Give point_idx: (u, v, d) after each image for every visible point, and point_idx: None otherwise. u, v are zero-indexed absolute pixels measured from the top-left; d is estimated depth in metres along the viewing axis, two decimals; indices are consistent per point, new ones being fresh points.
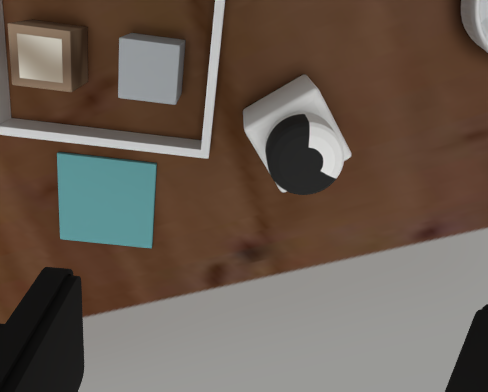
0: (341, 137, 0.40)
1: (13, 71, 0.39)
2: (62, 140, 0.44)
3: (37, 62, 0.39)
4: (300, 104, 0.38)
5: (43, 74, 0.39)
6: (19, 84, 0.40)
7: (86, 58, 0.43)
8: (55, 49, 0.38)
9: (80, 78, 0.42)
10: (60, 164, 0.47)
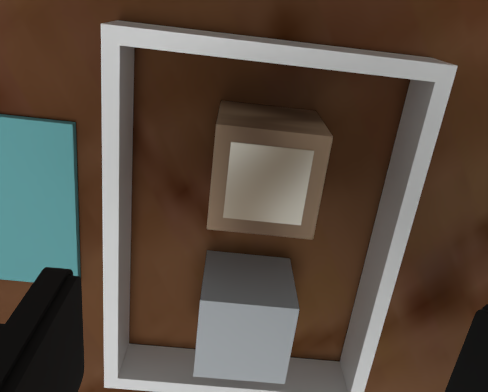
0: None
1: (242, 131, 0.20)
2: (104, 172, 0.22)
3: (260, 179, 0.20)
4: None
5: (238, 186, 0.20)
6: (217, 138, 0.20)
7: None
8: (283, 213, 0.21)
9: None
10: (49, 127, 0.24)
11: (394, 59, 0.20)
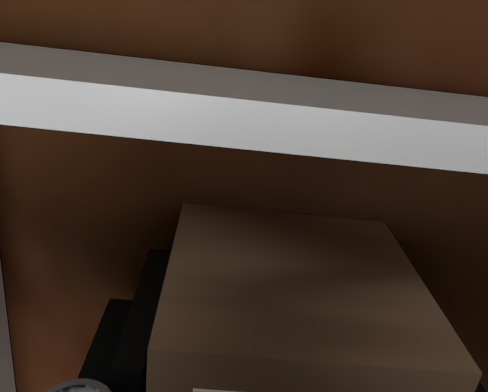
0: None
1: (226, 364, 0.07)
2: None
3: None
4: None
5: None
6: (153, 380, 0.07)
7: None
8: None
9: None
10: None
11: None
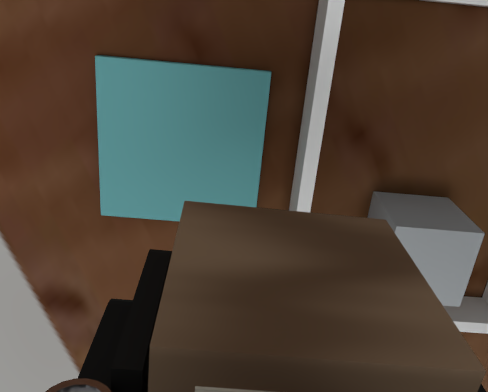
0: None
1: (228, 362, 0.07)
2: (314, 110, 0.25)
3: None
4: None
5: None
6: (155, 378, 0.07)
7: None
8: None
9: None
10: (250, 75, 0.26)
11: None
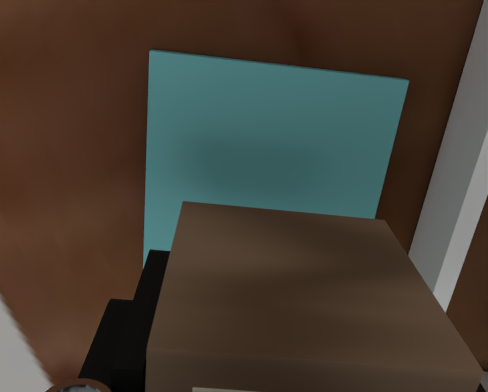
0: None
1: (226, 363, 0.07)
2: (487, 142, 0.16)
3: None
4: None
5: None
6: (152, 379, 0.07)
7: None
8: None
9: None
10: (377, 85, 0.18)
11: None
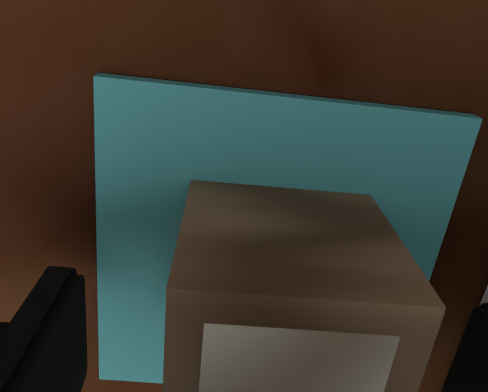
0: None
1: (231, 301, 0.08)
2: None
3: None
4: None
5: None
6: (171, 316, 0.08)
7: None
8: None
9: None
10: (435, 125, 0.12)
11: None
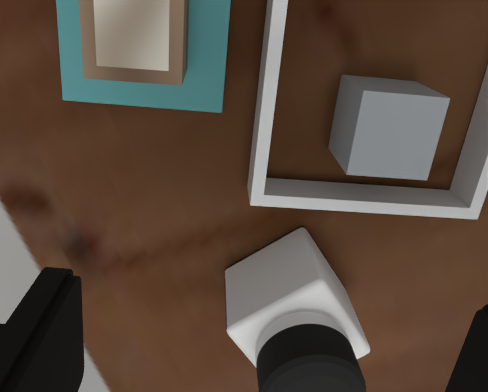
0: None
1: None
2: None
3: (125, 25, 0.23)
4: (353, 340, 0.30)
5: (106, 33, 0.23)
6: None
7: None
8: (151, 59, 0.23)
9: None
10: None
11: None
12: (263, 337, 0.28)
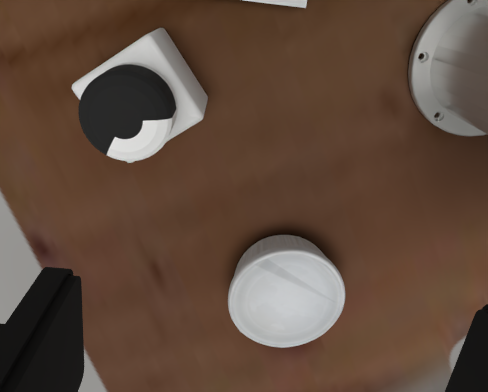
0: None
1: None
2: None
3: None
4: (184, 101, 0.34)
5: None
6: None
7: None
8: None
9: None
10: None
11: None
12: None
